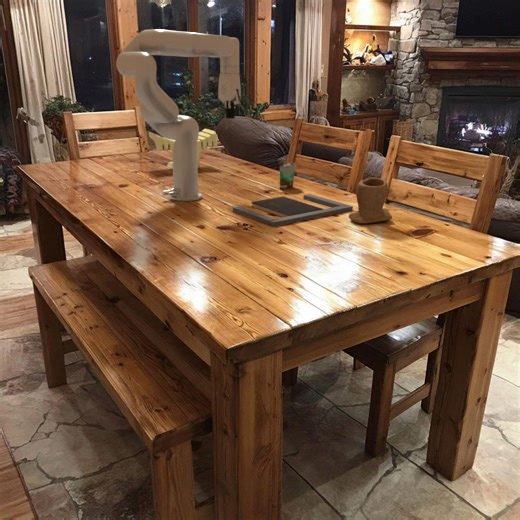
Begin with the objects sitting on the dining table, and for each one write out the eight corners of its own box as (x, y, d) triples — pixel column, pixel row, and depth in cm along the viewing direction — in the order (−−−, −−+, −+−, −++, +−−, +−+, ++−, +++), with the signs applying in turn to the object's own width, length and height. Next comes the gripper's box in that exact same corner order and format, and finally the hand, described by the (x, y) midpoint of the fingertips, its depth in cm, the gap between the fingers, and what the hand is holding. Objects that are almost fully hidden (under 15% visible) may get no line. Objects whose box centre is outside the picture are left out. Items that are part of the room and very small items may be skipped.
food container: (293, 190, 235) (294, 167, 232) (279, 189, 237) (279, 166, 233) (297, 184, 247) (298, 162, 243) (283, 183, 248) (284, 161, 245)
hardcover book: (290, 221, 193) (290, 215, 192) (251, 207, 210) (251, 201, 209) (324, 214, 202) (324, 208, 201) (283, 201, 219) (284, 196, 219)
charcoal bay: (273, 226, 185) (273, 222, 184) (232, 211, 203) (232, 207, 202) (352, 210, 206) (352, 206, 206) (309, 197, 224) (309, 193, 223)
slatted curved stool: (160, 172, 269) (158, 135, 263) (150, 167, 282) (148, 131, 276) (217, 168, 282) (217, 132, 276) (206, 162, 295) (205, 128, 289)
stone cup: (361, 228, 184) (364, 183, 179) (344, 219, 195) (346, 176, 190) (400, 224, 189) (405, 180, 184) (381, 215, 200) (385, 173, 195)
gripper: (211, 70, 225) (212, 117, 232) (232, 71, 214) (232, 120, 221) (227, 70, 230) (227, 116, 236) (248, 71, 219) (248, 119, 225)
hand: (230, 118), depth 228 cm, fingers closed
